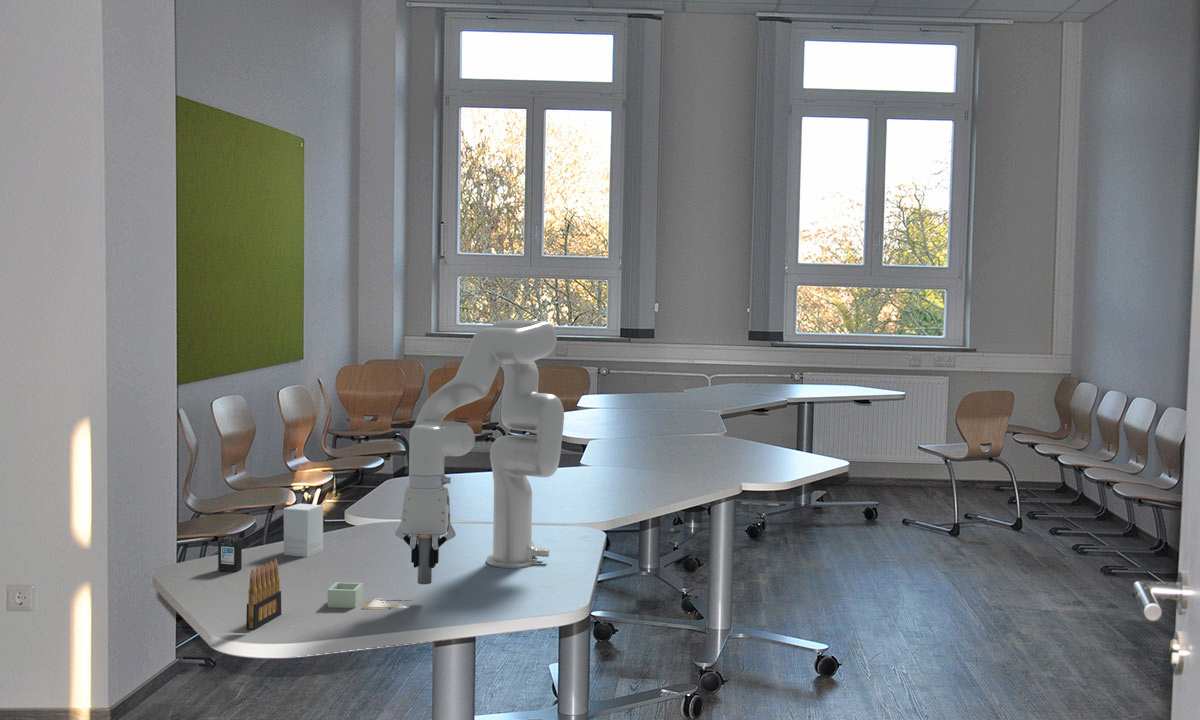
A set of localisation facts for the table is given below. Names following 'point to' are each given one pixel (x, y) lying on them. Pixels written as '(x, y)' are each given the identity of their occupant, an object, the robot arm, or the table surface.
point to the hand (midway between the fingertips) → (424, 565)
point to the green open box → (345, 595)
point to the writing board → (382, 604)
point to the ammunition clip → (263, 596)
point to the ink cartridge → (230, 554)
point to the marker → (424, 559)
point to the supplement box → (303, 529)
